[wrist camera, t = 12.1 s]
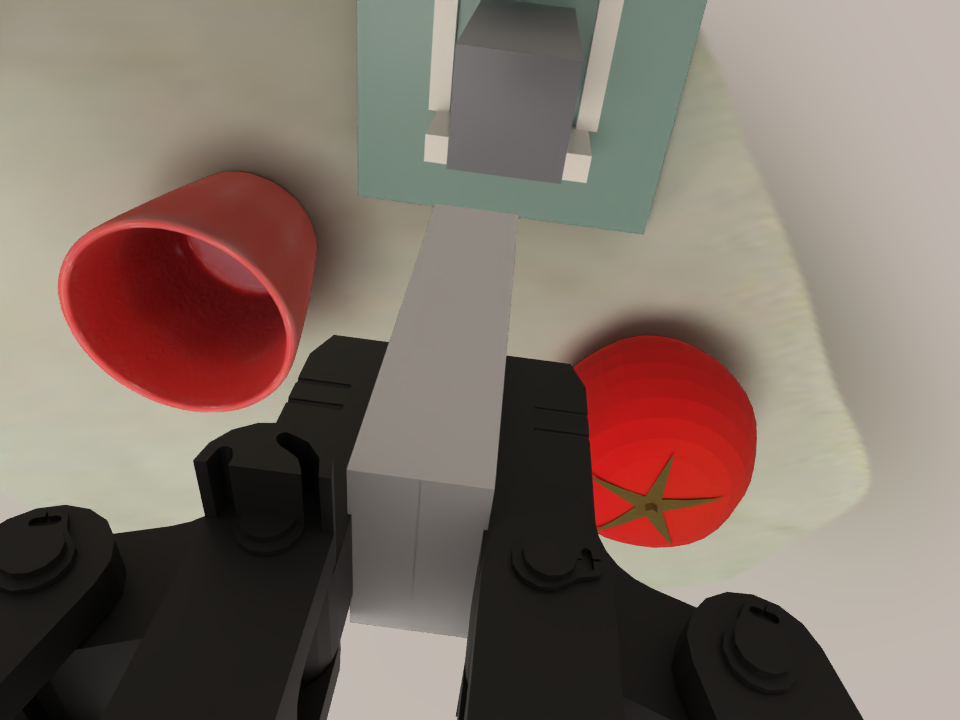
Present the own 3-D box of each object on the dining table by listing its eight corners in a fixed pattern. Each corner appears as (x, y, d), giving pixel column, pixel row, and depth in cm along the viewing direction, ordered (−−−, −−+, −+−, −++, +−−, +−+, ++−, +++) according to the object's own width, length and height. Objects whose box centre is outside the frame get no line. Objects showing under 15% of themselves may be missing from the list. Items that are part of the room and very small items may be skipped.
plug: (483, -4, 29) (455, 43, 21) (575, 9, 29) (583, 60, 21) (472, 106, 32) (445, 185, 24) (556, 117, 32) (557, 200, 24)
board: (365, -340, 24) (323, -387, 20) (776, -288, 24) (825, -324, 20) (364, 185, 36) (337, 228, 32) (640, 222, 36) (652, 271, 32)
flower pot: (350, 324, 42) (302, 428, 34) (176, 303, 42) (89, 401, 34) (343, 156, 35) (283, 236, 28) (139, 133, 36) (22, 206, 28)
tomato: (535, 314, 40) (530, 432, 32) (739, 298, 38) (792, 417, 30) (553, 459, 47) (553, 588, 38) (727, 451, 45) (767, 584, 37)
